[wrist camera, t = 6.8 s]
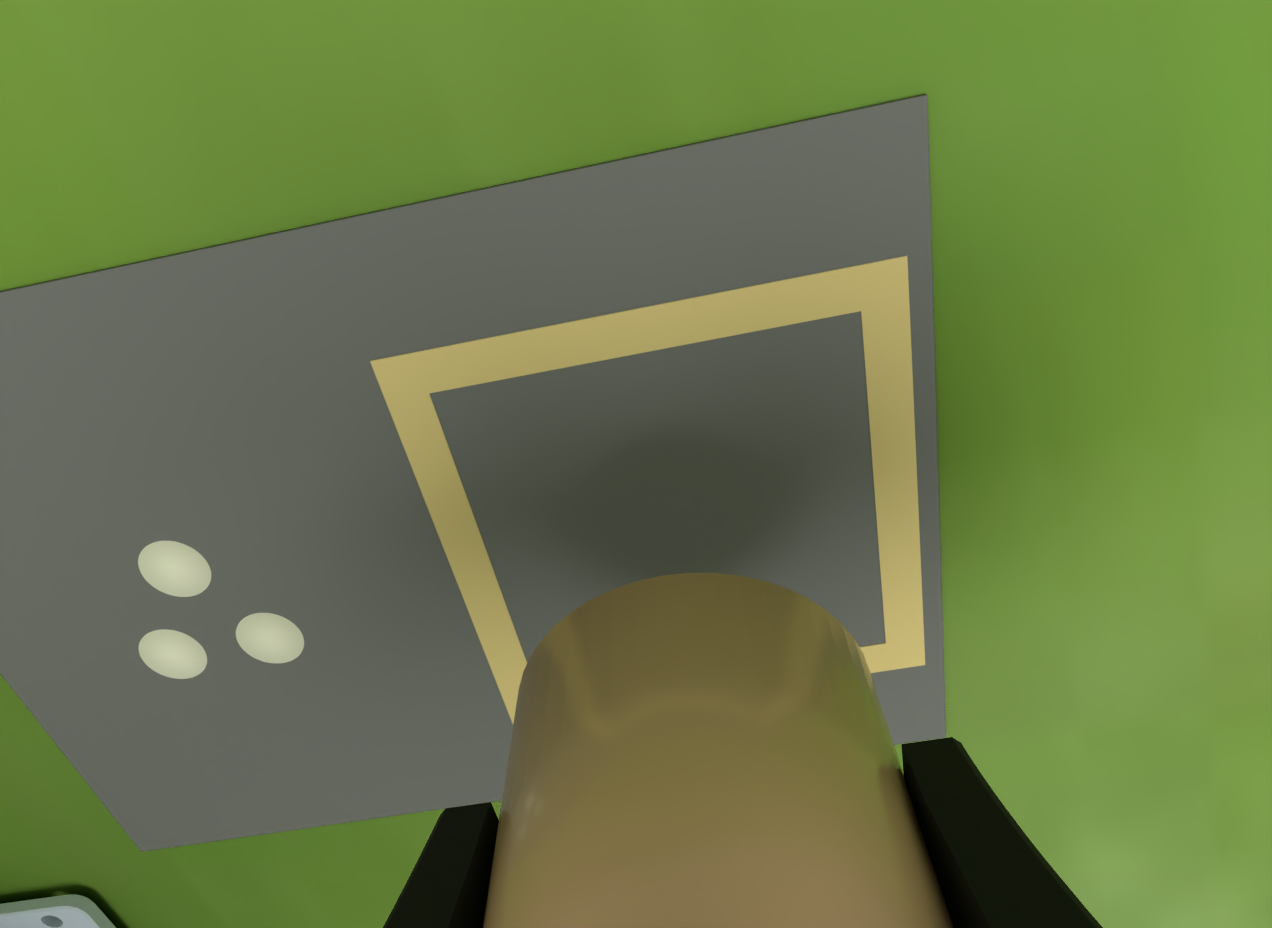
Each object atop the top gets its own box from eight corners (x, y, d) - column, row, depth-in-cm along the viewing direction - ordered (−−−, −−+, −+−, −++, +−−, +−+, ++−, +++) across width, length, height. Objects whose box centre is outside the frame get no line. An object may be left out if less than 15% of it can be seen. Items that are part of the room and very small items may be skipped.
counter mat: (150, 834, 22) (140, 852, 22) (-233, 336, 15) (-259, 347, 15) (939, 720, 20) (946, 738, 20) (917, 89, 13) (927, 95, 13)
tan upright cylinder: (565, 844, 14) (523, 1417, 9) (472, 607, 12) (329, 1208, 6) (882, 802, 14) (1052, 1381, 8) (859, 543, 11) (1085, 1136, 6)
